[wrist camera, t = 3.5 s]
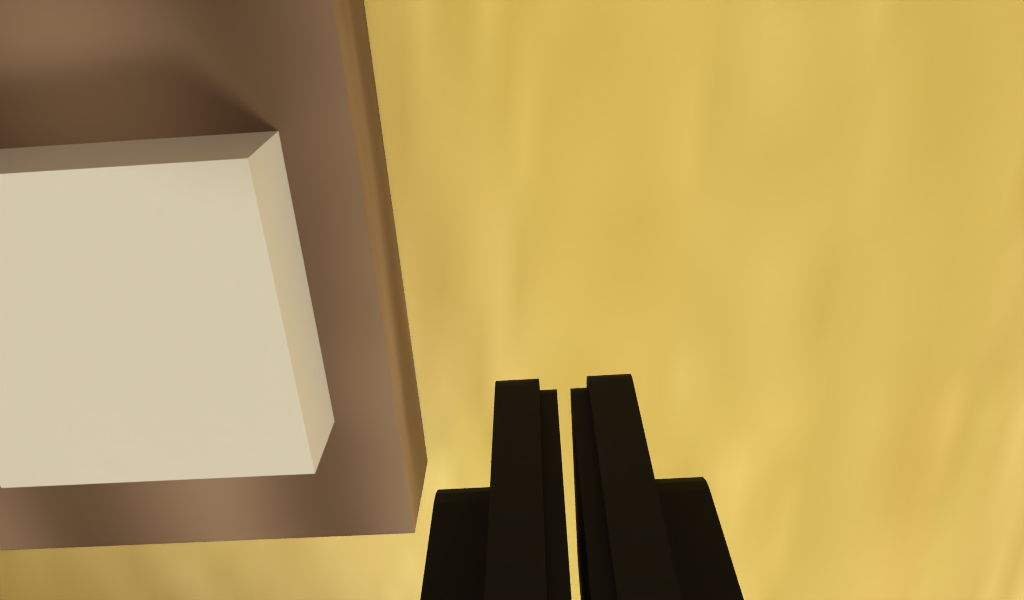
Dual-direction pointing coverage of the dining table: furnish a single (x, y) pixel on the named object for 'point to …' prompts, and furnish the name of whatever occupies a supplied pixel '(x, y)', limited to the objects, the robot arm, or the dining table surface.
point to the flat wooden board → (320, 223)
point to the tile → (155, 314)
